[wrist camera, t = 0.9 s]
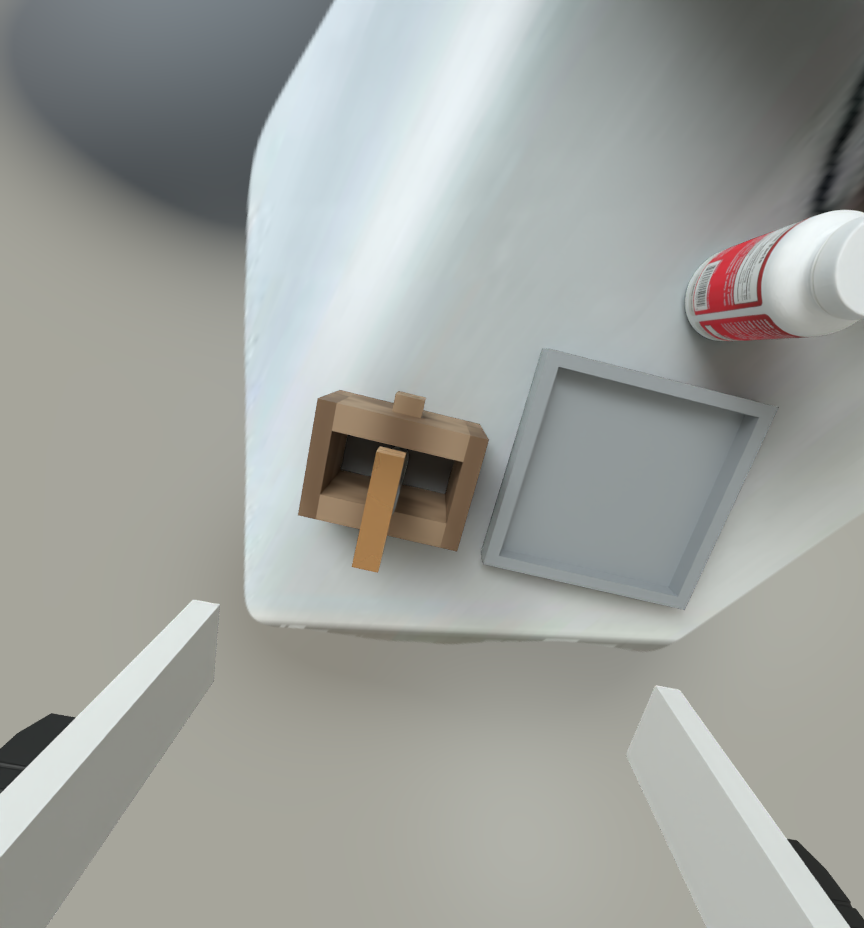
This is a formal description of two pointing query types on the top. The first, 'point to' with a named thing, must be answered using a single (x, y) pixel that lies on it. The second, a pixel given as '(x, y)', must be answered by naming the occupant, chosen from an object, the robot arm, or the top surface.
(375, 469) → the t-shaped peg
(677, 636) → the top surface
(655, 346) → the top surface
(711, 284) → the pill bottle
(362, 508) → the brown wooden open box
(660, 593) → the tray
